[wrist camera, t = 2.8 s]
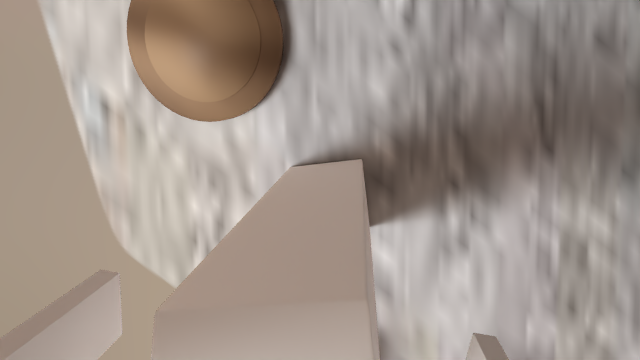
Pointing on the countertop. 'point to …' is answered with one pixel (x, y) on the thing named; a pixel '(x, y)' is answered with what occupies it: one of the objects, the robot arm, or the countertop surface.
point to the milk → (283, 278)
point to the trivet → (206, 53)
